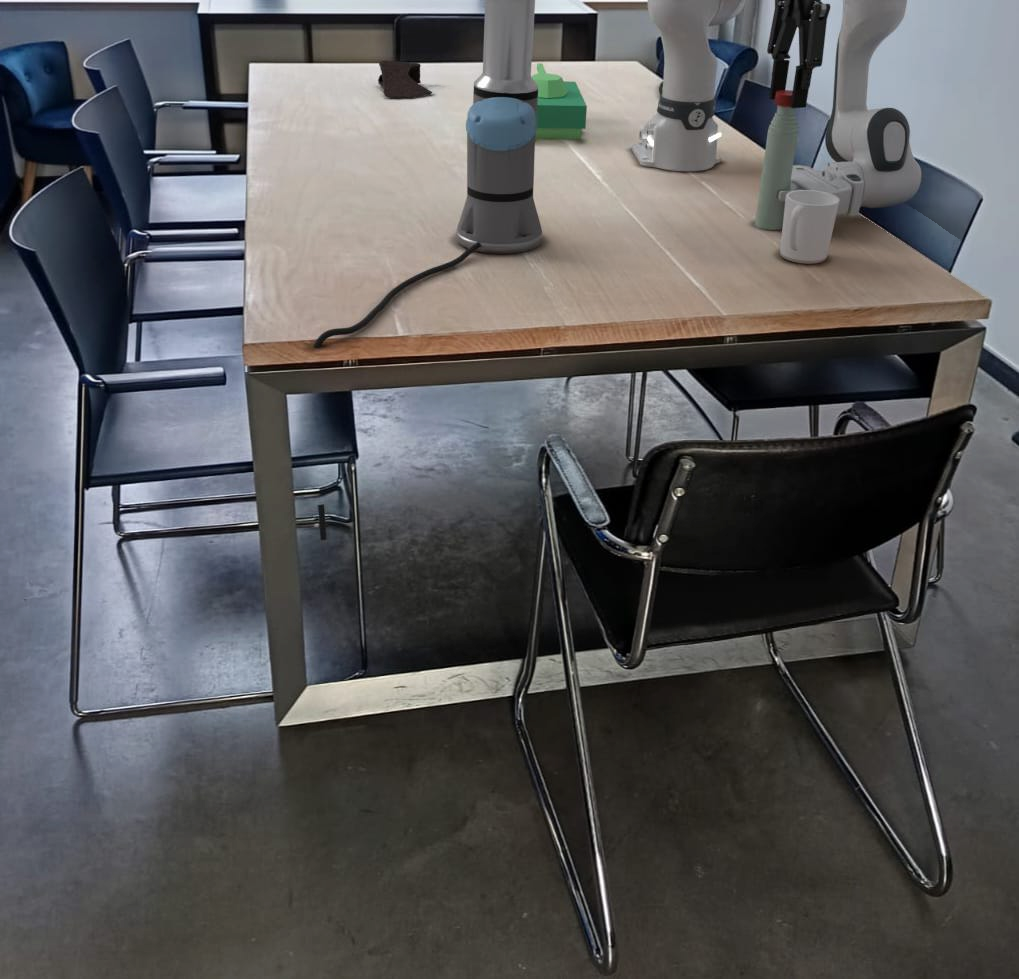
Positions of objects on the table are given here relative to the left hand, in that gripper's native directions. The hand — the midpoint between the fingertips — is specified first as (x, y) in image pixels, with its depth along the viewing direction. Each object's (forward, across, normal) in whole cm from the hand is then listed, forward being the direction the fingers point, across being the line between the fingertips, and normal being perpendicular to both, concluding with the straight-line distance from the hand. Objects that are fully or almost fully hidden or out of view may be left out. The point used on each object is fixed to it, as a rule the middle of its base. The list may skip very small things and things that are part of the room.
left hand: (787, 102), depth 195 cm
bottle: (+22, 0, 0) cm, 22 cm away
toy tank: (+22, -84, -14) cm, 88 cm away
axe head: (+22, -131, -37) cm, 138 cm away
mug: (+22, +18, -4) cm, 29 cm away
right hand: (+16, 0, -1) cm, 16 cm away
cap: (-1, 0, 0) cm, 1 cm away
